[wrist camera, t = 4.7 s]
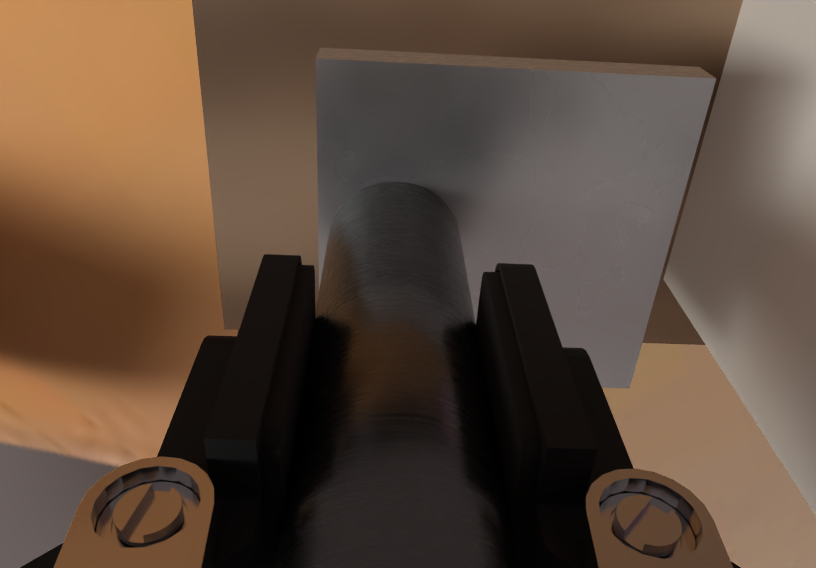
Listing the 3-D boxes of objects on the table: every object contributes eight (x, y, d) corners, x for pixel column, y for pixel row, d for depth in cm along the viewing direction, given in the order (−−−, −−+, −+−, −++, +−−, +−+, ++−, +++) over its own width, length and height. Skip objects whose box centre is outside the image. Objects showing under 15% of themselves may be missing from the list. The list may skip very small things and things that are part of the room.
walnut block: (849, 207, 34) (1043, 355, 24) (275, 182, 33) (224, 329, 23) (987, -121, 27) (1347, -107, 17) (259, -169, 26) (173, -185, 16)
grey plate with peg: (619, 366, 17) (903, 1002, 7) (323, 357, 16) (232, 1007, 7) (699, 66, 13) (1453, 582, 4) (320, 47, 13) (125, 556, 3)
